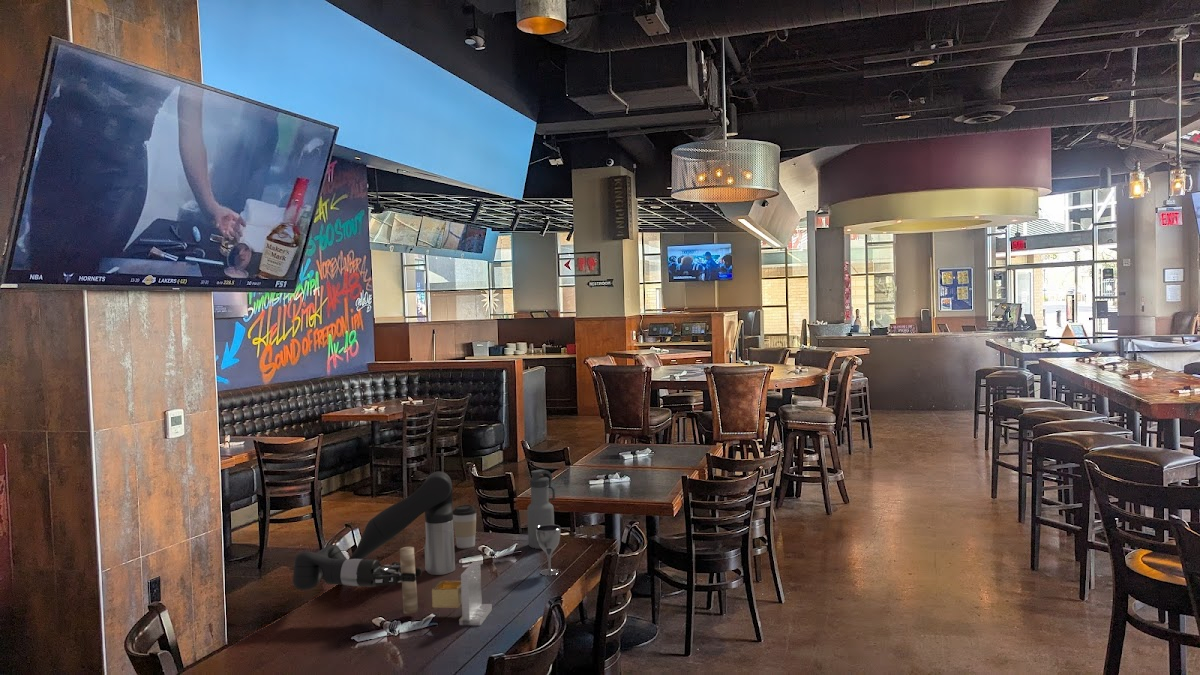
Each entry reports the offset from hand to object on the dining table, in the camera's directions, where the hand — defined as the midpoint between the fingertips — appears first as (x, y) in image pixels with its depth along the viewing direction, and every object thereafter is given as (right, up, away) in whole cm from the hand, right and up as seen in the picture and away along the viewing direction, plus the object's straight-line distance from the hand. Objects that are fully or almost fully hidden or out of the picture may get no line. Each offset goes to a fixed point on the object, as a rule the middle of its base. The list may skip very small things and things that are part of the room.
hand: (417, 574), depth 220 cm
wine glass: (+35, -10, +35) cm, 51 cm away
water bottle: (+30, -10, +67) cm, 74 cm away
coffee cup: (+2, -11, +70) cm, 71 cm away
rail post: (-2, -11, +1) cm, 11 cm away
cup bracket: (+13, -12, -1) cm, 17 cm away
